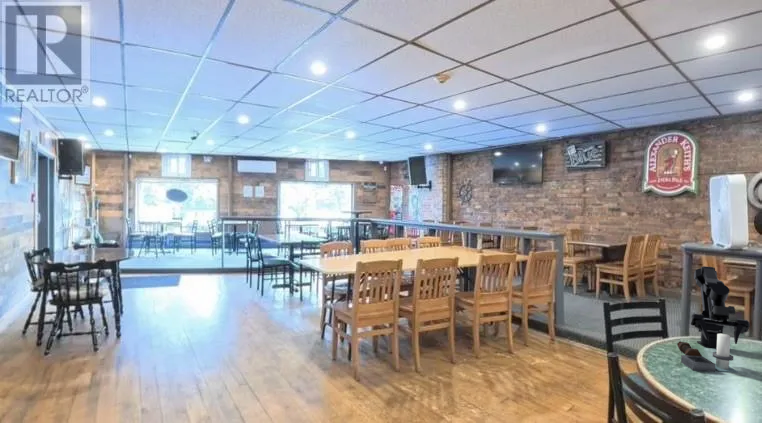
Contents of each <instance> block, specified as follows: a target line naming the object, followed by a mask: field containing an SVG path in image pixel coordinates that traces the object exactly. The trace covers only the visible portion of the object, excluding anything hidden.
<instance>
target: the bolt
mask: <svg viewBox="0 0 762 423" xmlns="http://www.w3.org/2000/svg"><path fill="white" fill-rule="evenodd" d="M677 347H678V349H679V351H680V353H682V354H684V355H688V356H702V354H701V352H700V350H699V349H698V348H693V347H692V345H691V344H690V343H689V342H685V341H678V342H677Z"/></svg>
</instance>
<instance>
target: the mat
mask: <svg viewBox="0 0 762 423" xmlns="http://www.w3.org/2000/svg"><path fill="white" fill-rule="evenodd" d="M714 364H715V371H717V372H720V373H721V372H722V373H739V371H738V370H736V369H735V368H733V367H731V366H730V365H729V369H721V368H718V367H716V363H714Z"/></svg>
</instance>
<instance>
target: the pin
mask: <svg viewBox="0 0 762 423" xmlns="http://www.w3.org/2000/svg"><path fill="white" fill-rule="evenodd" d="M730 347H731V336H730V335H729V334H726V333H723V334H717V348H716V351H713V352H712V357H713V358H715V364H716V367H718V368H721V369H729V366H730V361H734V356H733V355H732V354H730V351H731V349H730Z"/></svg>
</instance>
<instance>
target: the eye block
mask: <svg viewBox="0 0 762 423" xmlns="http://www.w3.org/2000/svg"><path fill="white" fill-rule="evenodd" d="M680 363H681V364H683V365H684V366H686V367H687V368H688V369H690V370H691V371H693V372H695V371H696V372H697V371H698V372H714V373H715V372H716V370H715V364H716V363H715V362H713V361H710V360H709V359H708V358H706V357H705V356H688V355H685V354H681V355H680Z"/></svg>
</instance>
